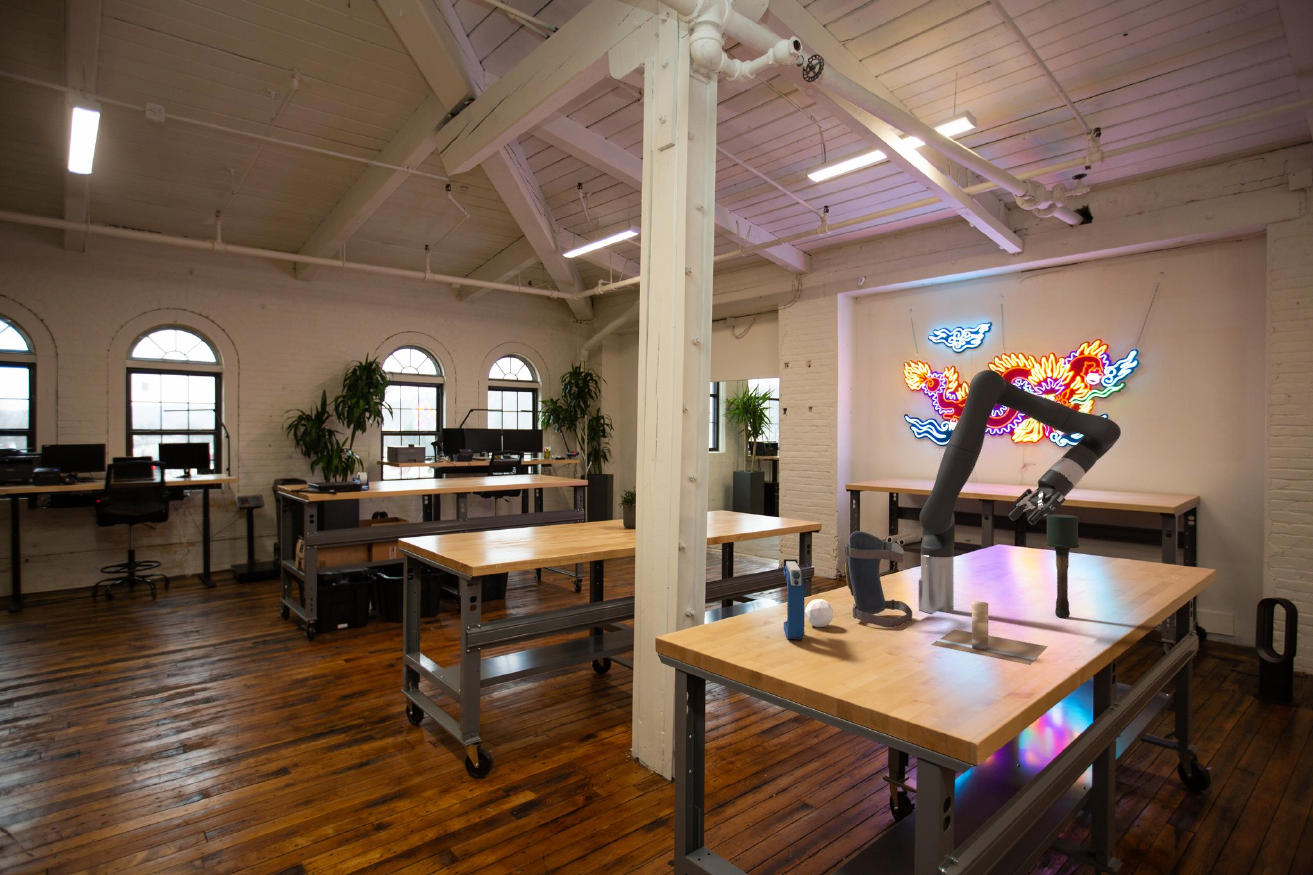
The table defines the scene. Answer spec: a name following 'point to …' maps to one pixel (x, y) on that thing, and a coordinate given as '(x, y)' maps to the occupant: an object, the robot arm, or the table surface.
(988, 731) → the table surface
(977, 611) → the tan round-topped cylinder
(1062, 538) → the potato masher grenade
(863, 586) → the knee pad
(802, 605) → the handheld scanner
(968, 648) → the board
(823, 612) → the ball
